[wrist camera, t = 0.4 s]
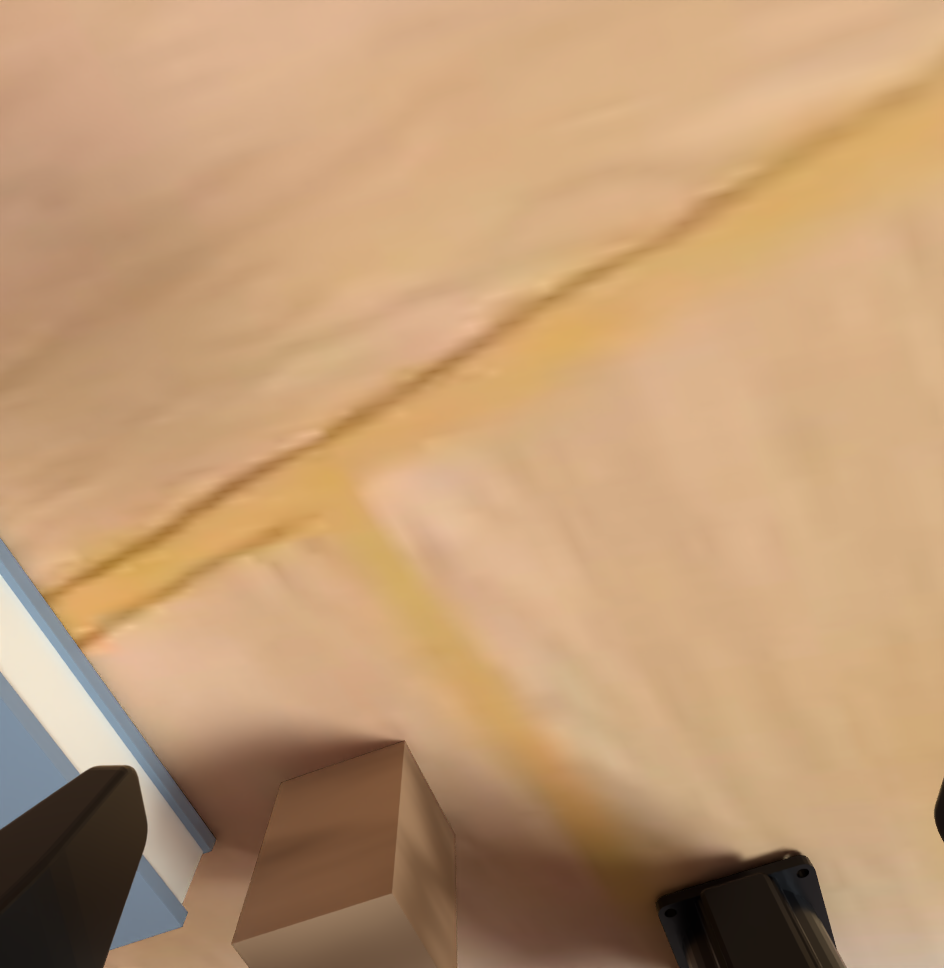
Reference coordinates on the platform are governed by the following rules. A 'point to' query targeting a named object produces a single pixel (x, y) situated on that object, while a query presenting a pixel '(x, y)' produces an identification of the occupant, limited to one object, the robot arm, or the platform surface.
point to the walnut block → (354, 872)
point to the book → (85, 751)
